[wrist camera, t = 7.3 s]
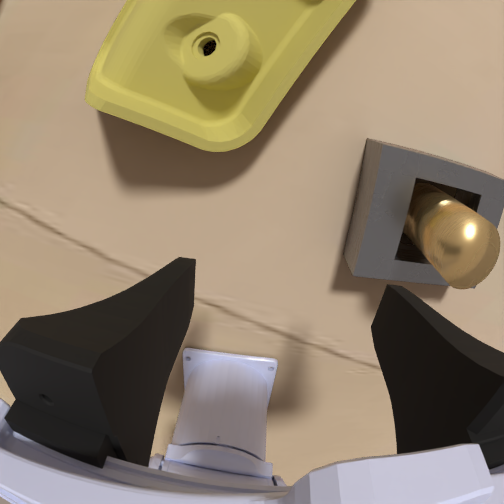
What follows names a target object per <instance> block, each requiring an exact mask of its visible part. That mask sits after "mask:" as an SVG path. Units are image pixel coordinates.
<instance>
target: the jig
mask: <svg viewBox="0 0 504 504" xmlns="http://www.w3.org/2000/svg"><path fill="white" fill-rule="evenodd" d="M416 178H420V179H424V180H428V181H432V182H436V183H440V184H444V185H448V186H452V187H455V188H457V192H456V196H455V199H456V200H458V201H459V202H461V203H463V204H464V205H466V206H467V207H469V208H470V209H472V210H473V211H475V212H476V213H478V214H479V215H481V216H482V217H484V218H485V219H487V220H488V221H490V222H491V223H492V224H493V225H494V226H495V227H496V229H497V228H498V225H499V221H500V218H501V215H502V211H503V208H504V179H501V178H499V177H497V176H495V175H493V174H490V173H488V172H486V171H483V170H480V169H477V168H474V167H471V166H468V165H465V164H462V163H459V162H456V161H453V160H449V159H446V158H443V157H439V156H436V155H432V154H429V153H425V152H422V151H418V150H414V149H410V148H406V147H402V146H398V145H394V144H390V143H386V142H382V141H377V140H373V139H368V138H367V142H366V148H365V154H364V159H363V165H362V170H361V175H360V180H359V185H358V190H357V195H356V200H355V205H354V210H353V214H352V219H351V223H350V228H349V232H348V236H347V241H346V245H345V249H344V253H343V255H344V257H345V259H346V262H347V264H348V266H349V268H350V271H351V273H352V275H353V276H357V277H367V278H376V279H386V280H395V281H405V282H415V283H425V284H435V285H445V286H450V285H449V284H448V283H447V282H446V281H445V279H444V278H443V277H442V276H441V275H440V273H439V272H438V271H437V270H436V269H435V267H434V266H433V265H432V264H431V263H430V262H429V261H428V259H427V258H426V257H425V256H424V255H423V254H422V253H421V251H420V250H419V249H418V248H417V247H416V246H415V245H410V244H404V243H399V242H400V239H401V235H402V232H403V228H404V224H405V221H406V217H407V213H408V209H409V205H410V201H411V197H412V193H413V189H414V184H415V180H416ZM475 287H476V285H475V286H473V287H471V288H475Z"/></svg>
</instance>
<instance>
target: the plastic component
mask: <svg viewBox="0 0 504 504" xmlns="http://www.w3.org/2000/svg"><path fill="white" fill-rule="evenodd" d="M355 1H356V0H127V1H126V3H125V4H124V6H123V8H122V10H121V11H120V13H119V15H118V16H117V18H116V20H115V22H114V23H113V25H112V27H111V29H110V31H109V33H108V35H107V36H106V38H105V40H104V42H103V44H102V46H101V48H100V50H99V53H98V55H97V57H96V59H95V62H94V64H93V66H92V69H91V72H90V74H89V77H88V81H87V87H86V94H85V101H86V103H88V104H89V105H90V106H92V107H93V108H95V109H97V110H99V111H102V112H105V113H107V114H110V115H113V116H116V117H119V118H122V119H124V120H127V121H130V122H133V123H135V124H138V125H141V126H143V127H146V128H149V129H151V130H154V131H157V132H159V133H162V134H164V135H167V136H169V137H172V138H174V139H177V140H179V141H182V142H184V143H187V144H189V145H192V146H194V147H197V148H199V149H201V150H206V151H211V152H225V151H229V150H233V149H237V148H239V147H241V146H243V145H245V144H246V143H248V142H249V141H251V140H252V139H253V138H254V137H255V136H256V135H257V134H258V133H259V132H260V131H261V130H262V128H263V127H264V125H265V124H266V122H267V121H268V119H269V118H270V117H271V115H272V114H273V112H274V111H275V109H276V108H277V106H278V105H279V103H280V102H281V101H282V99H283V98H284V96H285V95H286V93H287V92H288V91H289V89H290V88H291V86H292V85H293V84H294V82H295V81H296V79H297V78H298V77H299V75H300V74H301V72H302V71H303V70H304V68H305V67H306V65H307V64H308V63H309V61H310V60H311V59H312V57H313V56H314V55H315V53H316V52H317V51H318V49H319V48H320V47H321V45H322V44H323V43H324V41H325V40H326V39H327V37H328V36H329V35H330V33H331V32H332V31H333V29H334V28H335V27H336V25H337V24H338V23H339V22H340V20H341V19H342V18H343V16H344V15H345V14H346V13H347V11H348V10H349V9H350V8H351V6H352V5H353V4H354V3H355ZM212 40H215V41H216V43H217V45H216V49H215V51H214V52H213V53H212V54H211V55H209V56H204V54H203V48H204V45H205V44H206V43H207V42H209V41H212Z"/></svg>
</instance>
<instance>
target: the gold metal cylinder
mask: <svg viewBox="0 0 504 504" xmlns="http://www.w3.org/2000/svg"><path fill="white" fill-rule="evenodd" d="M403 233H404V234H405V235H406V236H407V237H408V238H409V239H410V240H411V241H412V242H413V244H414V245H415V246H416V247H417V248H418V249H419V250H420V251H421V253H422V254H423V255H424V256H425V257H426V258H427V259H428V261H429V262H430V263H431V264H432V265H433V266H434V267H435V269H436V270H437V271H438V272H439V273H440V275H441V276H442V277H443V278H444V279H445V281H446V282H447V283H448V284H449V285H450V286H452V287H453V288H456V289H468V288H471V287H473V286H475V285H477V284H479V283H480V282H482V281H483V280H484V279H485V278H486V277H487V276H488V275H489V273H490V272H491V271H492V269H493V267H494V266H495V264H496V261H497V259H498V256H499V252H500V237H499V233H498V231H497V229H496V227H495V226H494V225H493V224H492V223H491V222H490V221H488V220H487V219H485V218H484V217H482V216H481V215H479V214H478V213H476V212H475V211H473V210H472V209H470V208H469V207H467V206H466V205H464V204H463V203H461V202H459V201H458V200H456V199H455V198H453V197H451V196H450V195H448V194H446V193H445V192H443V191H442V190H440V189H438V188H436V187H435V186H433V185H431V184H428V183H417V184H414V189H413V193H412V197H411V201H410V205H409V209H408V213H407V217H406V221H405V224H404V228H403Z"/></svg>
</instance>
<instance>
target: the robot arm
mask: <svg viewBox="0 0 504 504" xmlns="http://www.w3.org/2000/svg"><path fill="white" fill-rule="evenodd" d="M195 266H196V259H190V258H183V257H179V258H177V259H175V260H174V261H172V262H171V263H169V264H168V265H166V266H165V267H163V268H162V269H160V270H159V271H157V272H156V273H154V274H153V275H151V276H149V277H148V278H146V279H144V280H143V281H141V282H139V283H137V284H136V285H134V286H132V287H130V288H129V289H127V290H125V291H123V292H121V293H118V294H116V295H114V296H112V297H109V298H107V299H104V300H102V301H99V302H96V303H93V304H90V305H87V306H84V307H81V308H77V309H74V310H70V311H65V312H61V313H56V314H51V315H44V316H36V317H28V318H21V319H20V320H19V321H18V322H17V323H16V324H15V325H14V327H13V328H12V329H11V330H10V331H9V332H8V334H7V335H6V336H5V337H4V338H3V339H2V341H1V342H0V371H1V373H2V375H3V377H4V379H5V380H6V382H7V384H8V386H9V388H10V390H11V392H12V393H13V395H14V397H15V399H16V400H15V401H14V403H13V405H12V406H11V407H10V405H8V404H7V403H6V402H5V401H4V400H2V399H1V398H0V497H2V498H3V499H5V500H7V501H8V502H10V503H11V504H504V353H503V352H501V351H499V350H497V349H495V348H493V347H491V346H489V345H487V344H485V343H483V342H481V341H479V340H477V339H476V338H474V337H472V336H471V335H469V334H468V333H466V332H464V331H463V330H461V329H460V328H458V327H457V326H455V325H454V324H453V323H451V322H450V321H448V320H447V319H446V318H444V317H443V316H442V315H440V314H439V313H438V312H436V311H435V310H434V309H433V308H431V307H430V306H429V305H427V304H426V303H425V302H423V301H422V300H421V299H420V298H418V297H417V296H416V295H414V294H413V293H411V292H410V291H408V290H407V289H405V288H403V287H402V286H396V285H388V284H387V286H386V289H385V292H384V294H383V297H382V300H381V302H380V305H379V308H378V310H377V313H376V315H375V318H374V320H373V323H372V325H371V330H372V337H373V342H374V347H375V351H376V354H377V357H378V360H379V363H380V367H381V370H382V373H383V376H384V379H385V382H386V385H387V388H388V391H389V395H390V399H391V403H392V409H393V416H394V422H395V431H396V442H397V454H394V455H384V456H372V457H362V458H356V459H350V460H343V461H337V462H334V463H331V464H328V465H325V466H322V467H319V468H316V469H313V470H312V471H310V472H309V473H308V474H306V475H305V476H303V477H302V478H301V479H299V480H298V481H297V482H296V483H295V484H294V485H293V486H287V485H286V484H285V483H284V481H283V479H282V478H281V477H280V476H277V475H272V463H269V462H265V457H266V424H267V408H268V404H269V400H270V396H271V392H272V387H273V383H274V379H275V375H276V371H277V366H278V361H277V360H276V359H274V358H266V357H256V356H247V355H238V354H230V353H222V352H215V351H207V350H200V349H194V348H185V349H184V350H183V371H184V388H185V392H184V396H183V400H182V403H181V407H180V411H179V415H178V419H177V423H176V427H175V431H174V435H173V439H172V442H171V444H168V448H167V452H166V456H165V459H164V455H161V454H158V453H156V454H155V455H154V456H152V457H150V455H151V449H152V444H153V439H154V434H155V429H156V425H157V420H158V416H159V412H160V407H161V403H162V399H163V395H164V392H165V388H166V384H167V381H168V378H169V375H170V372H171V370H172V367H173V365H174V362H175V360H176V357H177V355H178V352H179V350H180V347H181V345H182V342H183V340H184V337H185V335H186V332H187V330H188V327H189V323H190V319H191V315H192V311H193V307H194V288H195ZM188 357H190V358H188ZM269 367H273V368H269Z"/></svg>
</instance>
